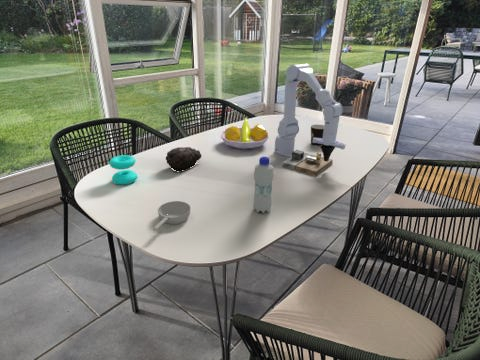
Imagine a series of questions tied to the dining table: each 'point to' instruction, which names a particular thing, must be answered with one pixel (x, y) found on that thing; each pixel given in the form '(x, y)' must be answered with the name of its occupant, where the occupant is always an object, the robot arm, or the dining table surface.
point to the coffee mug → (316, 133)
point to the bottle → (263, 185)
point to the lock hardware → (300, 156)
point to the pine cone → (182, 158)
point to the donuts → (124, 175)
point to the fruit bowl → (245, 136)
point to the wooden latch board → (307, 165)
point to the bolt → (317, 159)
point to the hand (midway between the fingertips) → (326, 160)
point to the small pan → (173, 213)
